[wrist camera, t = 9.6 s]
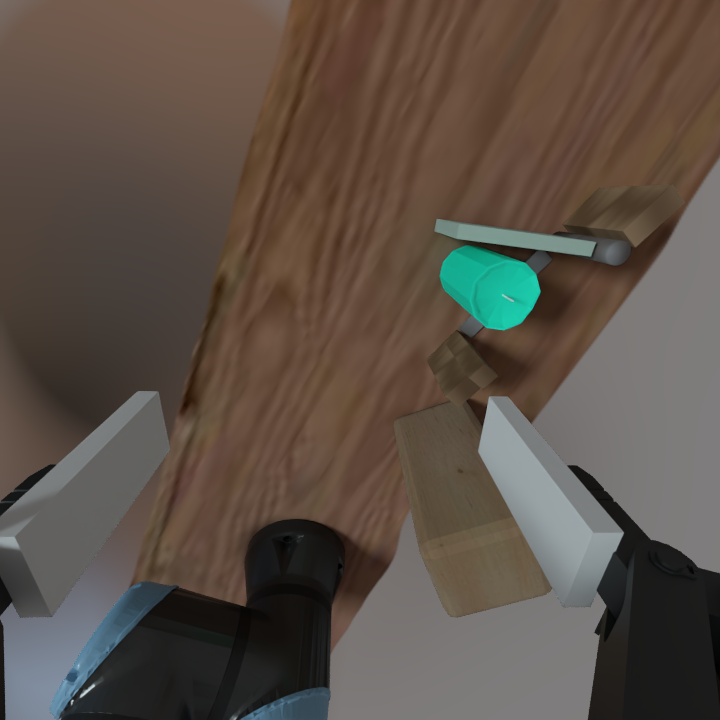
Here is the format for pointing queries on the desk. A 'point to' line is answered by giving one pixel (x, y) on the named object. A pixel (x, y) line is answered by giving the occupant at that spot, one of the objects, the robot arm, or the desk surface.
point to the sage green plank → (514, 237)
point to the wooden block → (463, 514)
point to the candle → (490, 286)
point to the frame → (590, 222)
